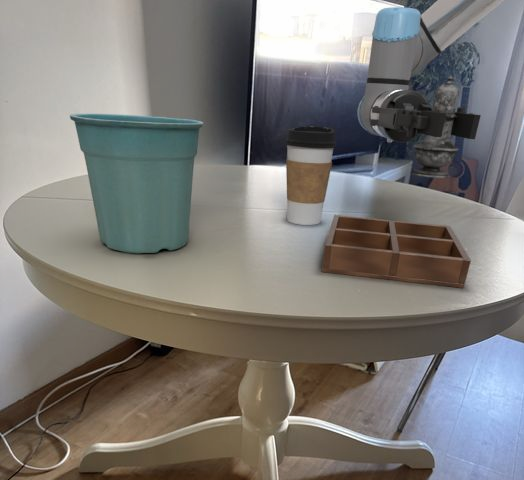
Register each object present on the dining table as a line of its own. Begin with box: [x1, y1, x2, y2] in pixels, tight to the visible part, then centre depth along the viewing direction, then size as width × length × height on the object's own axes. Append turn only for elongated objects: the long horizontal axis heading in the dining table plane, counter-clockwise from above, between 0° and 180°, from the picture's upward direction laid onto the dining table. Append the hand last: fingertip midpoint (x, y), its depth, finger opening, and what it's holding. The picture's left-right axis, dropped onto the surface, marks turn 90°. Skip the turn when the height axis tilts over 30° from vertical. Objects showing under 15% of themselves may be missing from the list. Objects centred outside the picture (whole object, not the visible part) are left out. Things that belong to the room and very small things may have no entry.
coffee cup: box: [284, 125, 337, 226], centre depth 81 cm, size 8×8×15 cm
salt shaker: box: [410, 74, 460, 179], centre depth 64 cm, size 6×6×12 cm
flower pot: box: [69, 113, 204, 254], centre depth 65 cm, size 16×16×16 cm
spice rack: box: [321, 214, 472, 289], centre depth 66 cm, size 17×17×4 cm
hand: (457, 126), depth 59 cm, fingers closed on salt shaker, 4 cm apart
